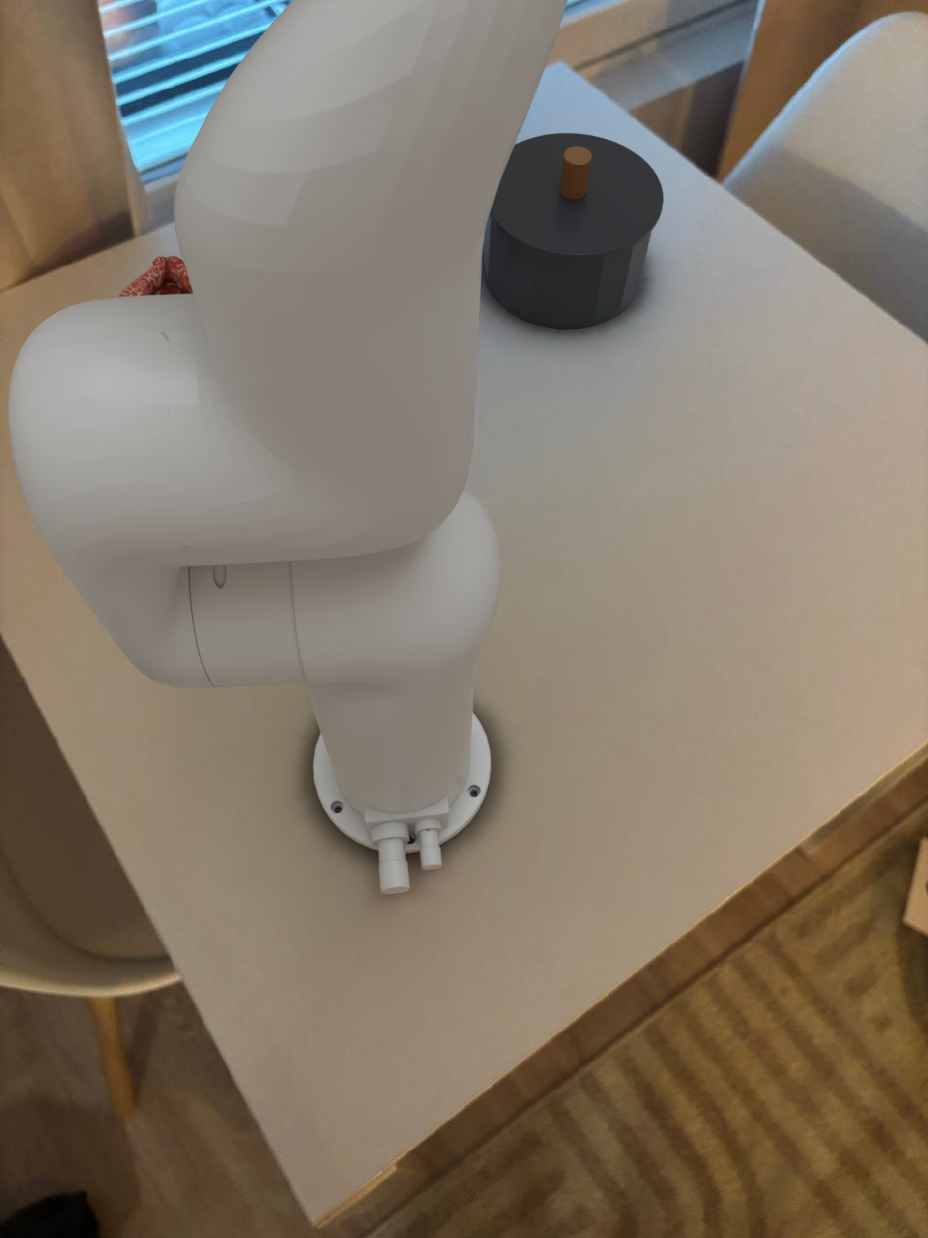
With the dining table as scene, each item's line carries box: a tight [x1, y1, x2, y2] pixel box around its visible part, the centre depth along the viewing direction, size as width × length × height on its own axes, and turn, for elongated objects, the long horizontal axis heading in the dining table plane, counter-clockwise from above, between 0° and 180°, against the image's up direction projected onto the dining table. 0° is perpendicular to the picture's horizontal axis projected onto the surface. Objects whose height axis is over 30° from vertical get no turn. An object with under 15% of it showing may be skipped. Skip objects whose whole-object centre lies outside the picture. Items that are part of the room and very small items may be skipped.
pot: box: [483, 217, 653, 330], centre depth 87 cm, size 15×15×8 cm
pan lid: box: [489, 132, 665, 259], centre depth 82 cm, size 16×16×5 cm
